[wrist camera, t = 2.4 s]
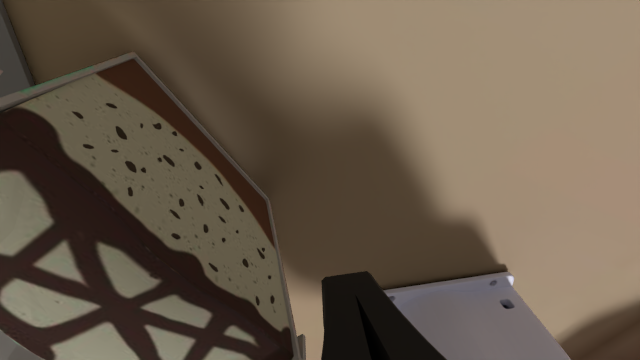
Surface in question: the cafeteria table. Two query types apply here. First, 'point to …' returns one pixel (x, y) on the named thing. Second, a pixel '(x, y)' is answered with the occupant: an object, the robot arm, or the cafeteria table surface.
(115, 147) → the food container
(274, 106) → the cafeteria table surface
